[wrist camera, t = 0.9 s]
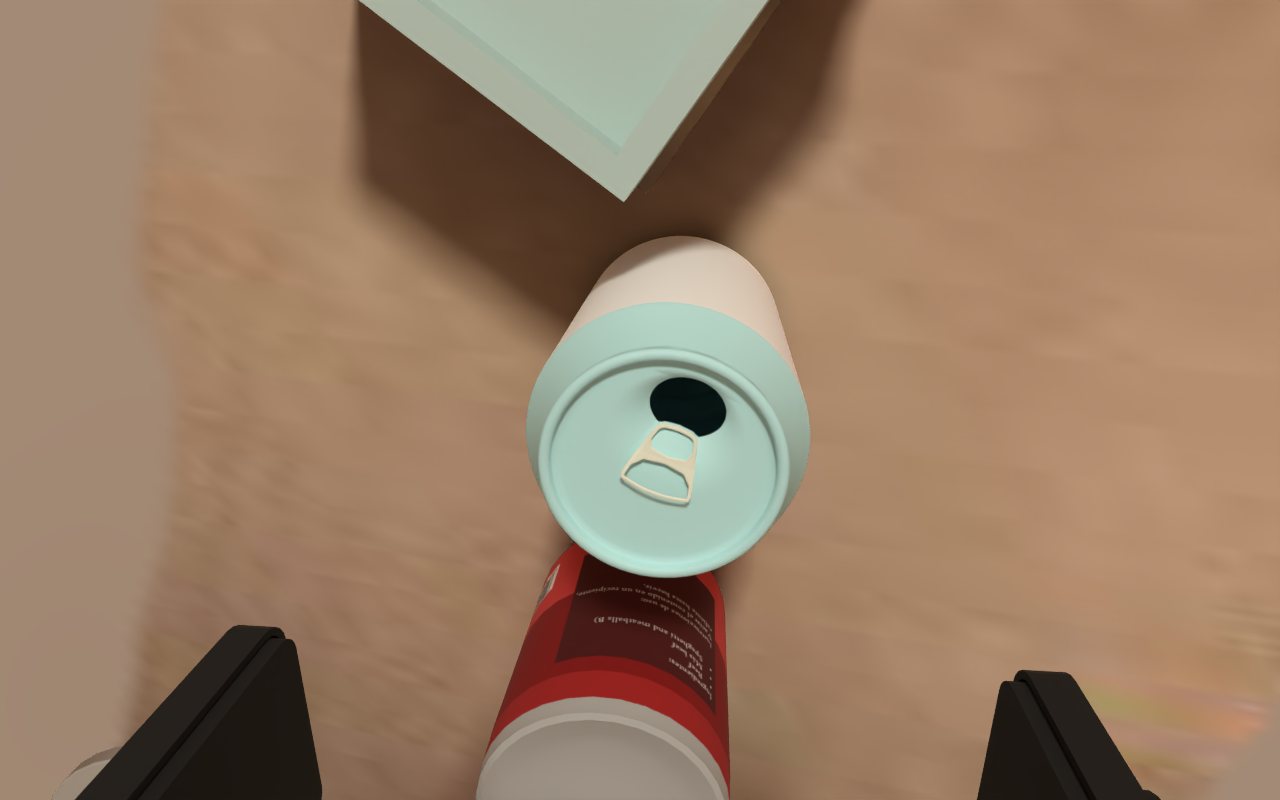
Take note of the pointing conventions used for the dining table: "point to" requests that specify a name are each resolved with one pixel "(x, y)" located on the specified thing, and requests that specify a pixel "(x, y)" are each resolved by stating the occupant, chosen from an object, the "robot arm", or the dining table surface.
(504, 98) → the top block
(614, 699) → the canned food
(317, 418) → the dining table surface
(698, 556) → the can
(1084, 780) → the robot arm
